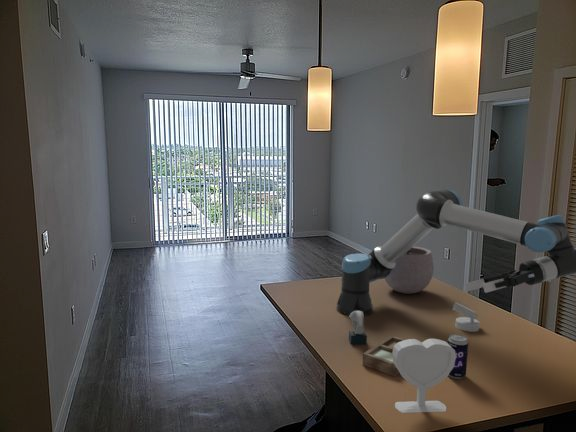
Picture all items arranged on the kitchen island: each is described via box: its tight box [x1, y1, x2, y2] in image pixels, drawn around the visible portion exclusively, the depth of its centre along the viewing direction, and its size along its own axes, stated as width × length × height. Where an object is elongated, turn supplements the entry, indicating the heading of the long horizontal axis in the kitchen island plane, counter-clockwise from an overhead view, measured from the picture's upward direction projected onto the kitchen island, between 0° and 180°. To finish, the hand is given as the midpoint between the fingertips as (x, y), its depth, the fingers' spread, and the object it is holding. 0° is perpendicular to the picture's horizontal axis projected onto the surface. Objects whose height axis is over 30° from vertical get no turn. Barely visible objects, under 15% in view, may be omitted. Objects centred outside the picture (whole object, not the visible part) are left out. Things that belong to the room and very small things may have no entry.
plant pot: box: [383, 245, 434, 295], centre depth 212 cm, size 24×24×30 cm
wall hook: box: [452, 302, 481, 333], centre depth 170 cm, size 9×10×10 cm
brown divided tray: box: [362, 335, 406, 377], centre depth 142 cm, size 11×19×4 cm, turn 140°
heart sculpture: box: [392, 338, 456, 414], centre depth 114 cm, size 16×5×18 cm, turn 94°
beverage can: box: [447, 333, 469, 380], centre depth 132 cm, size 6×6×12 cm
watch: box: [348, 311, 368, 345], centre depth 155 cm, size 6×8×11 cm
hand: (474, 287), depth 141 cm, fingers open, 13 cm apart
